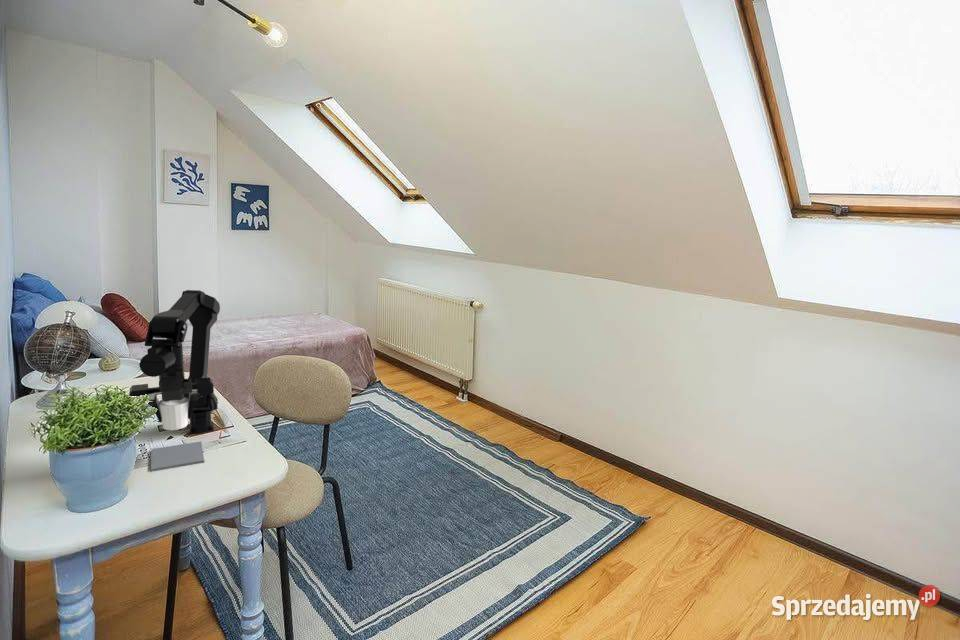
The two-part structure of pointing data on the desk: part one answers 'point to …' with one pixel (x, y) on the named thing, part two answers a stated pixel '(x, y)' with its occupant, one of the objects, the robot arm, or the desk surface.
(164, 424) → the white faceted cylinder
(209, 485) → the desk surface
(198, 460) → the coaster mat
